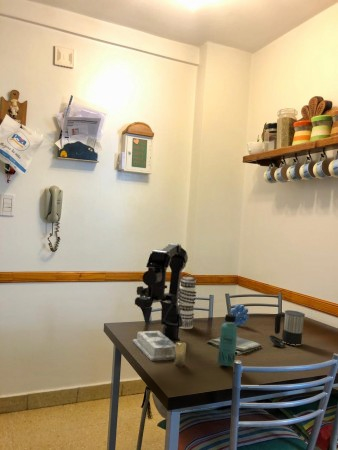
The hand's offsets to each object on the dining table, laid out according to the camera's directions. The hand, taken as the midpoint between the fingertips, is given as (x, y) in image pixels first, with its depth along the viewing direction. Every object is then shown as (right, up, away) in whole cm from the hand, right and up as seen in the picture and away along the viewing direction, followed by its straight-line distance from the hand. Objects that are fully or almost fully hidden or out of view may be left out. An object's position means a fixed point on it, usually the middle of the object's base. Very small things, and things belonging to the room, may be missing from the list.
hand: (154, 321), depth 151 cm
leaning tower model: (+13, -14, +44) cm, 48 cm away
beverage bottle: (+27, -16, -4) cm, 32 cm away
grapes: (+43, -16, +53) cm, 70 cm away
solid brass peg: (+9, -15, -6) cm, 18 cm away
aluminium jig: (0, -14, +8) cm, 16 cm away
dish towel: (+35, -17, +21) cm, 44 cm away
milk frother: (+60, -18, +29) cm, 70 cm away
